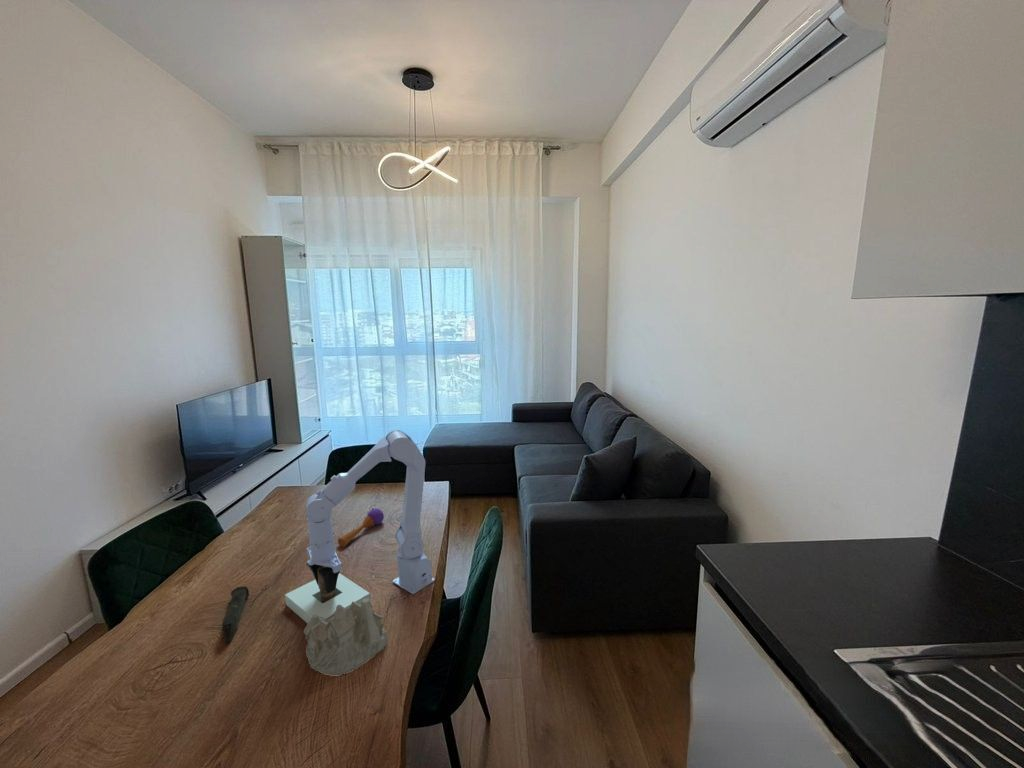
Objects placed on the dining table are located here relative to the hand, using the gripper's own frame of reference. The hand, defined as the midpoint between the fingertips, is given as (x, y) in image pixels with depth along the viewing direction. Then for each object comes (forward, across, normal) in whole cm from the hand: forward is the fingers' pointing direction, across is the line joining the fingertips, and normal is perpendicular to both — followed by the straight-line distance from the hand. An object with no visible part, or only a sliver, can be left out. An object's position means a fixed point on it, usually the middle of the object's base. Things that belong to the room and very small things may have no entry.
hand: (326, 587), depth 113 cm
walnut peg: (+3, 0, 0) cm, 4 cm away
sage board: (+5, 0, 0) cm, 5 cm away
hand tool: (+5, -14, -17) cm, 22 cm away
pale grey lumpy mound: (+5, +18, -5) cm, 20 cm away
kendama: (+5, -28, +28) cm, 39 cm away
